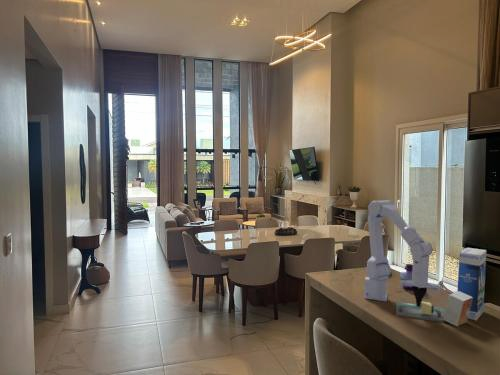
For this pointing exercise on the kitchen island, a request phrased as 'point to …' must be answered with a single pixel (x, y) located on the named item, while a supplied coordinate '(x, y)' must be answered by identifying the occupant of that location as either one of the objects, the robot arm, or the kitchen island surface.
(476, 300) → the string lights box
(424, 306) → the sleeve
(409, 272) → the potion bottle
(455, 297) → the small box
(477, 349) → the kitchen island surface
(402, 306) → the teal rod on plate
